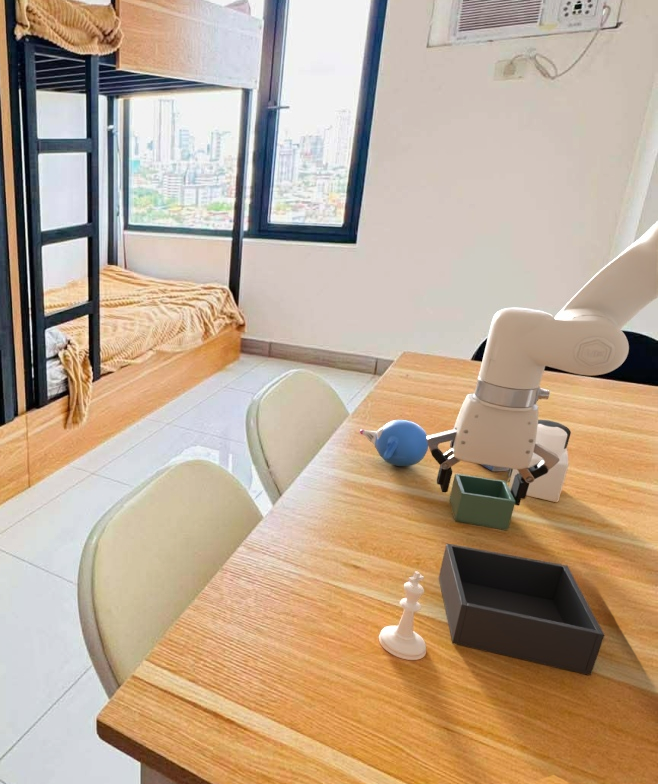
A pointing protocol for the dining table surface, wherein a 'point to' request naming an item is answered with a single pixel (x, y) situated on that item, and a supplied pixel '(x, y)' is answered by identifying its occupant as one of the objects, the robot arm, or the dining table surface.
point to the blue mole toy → (399, 442)
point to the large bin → (518, 608)
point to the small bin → (481, 501)
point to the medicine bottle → (553, 440)
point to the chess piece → (406, 625)
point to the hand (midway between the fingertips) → (478, 494)
